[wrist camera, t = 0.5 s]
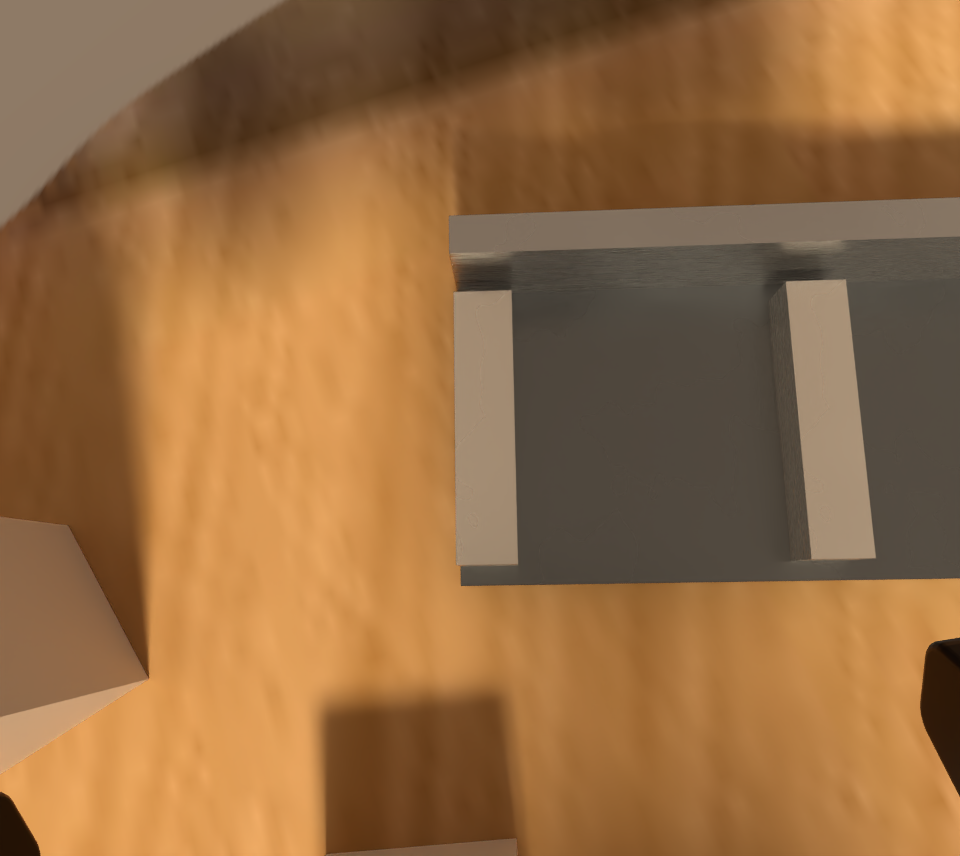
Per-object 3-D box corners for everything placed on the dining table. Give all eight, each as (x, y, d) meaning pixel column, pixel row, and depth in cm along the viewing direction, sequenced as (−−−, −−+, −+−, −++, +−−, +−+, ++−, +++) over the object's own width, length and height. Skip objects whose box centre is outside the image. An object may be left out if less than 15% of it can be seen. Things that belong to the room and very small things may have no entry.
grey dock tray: (1102, 576, 21) (1234, 574, 17) (464, 585, 22) (452, 586, 18) (1051, 257, 23) (1160, 190, 19) (460, 276, 24) (448, 215, 20)
